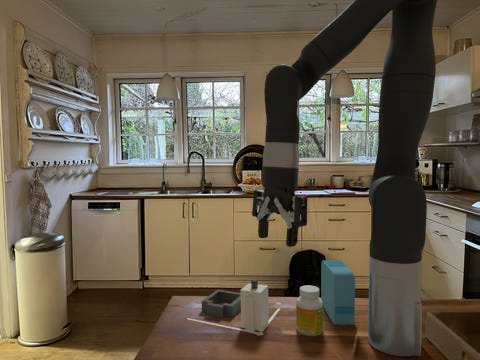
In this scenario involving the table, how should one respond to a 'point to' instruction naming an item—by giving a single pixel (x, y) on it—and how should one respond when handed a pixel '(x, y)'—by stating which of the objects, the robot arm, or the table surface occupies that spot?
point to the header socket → (225, 309)
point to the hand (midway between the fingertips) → (276, 241)
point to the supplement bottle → (309, 311)
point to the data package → (338, 292)
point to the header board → (238, 328)
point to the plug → (254, 306)
